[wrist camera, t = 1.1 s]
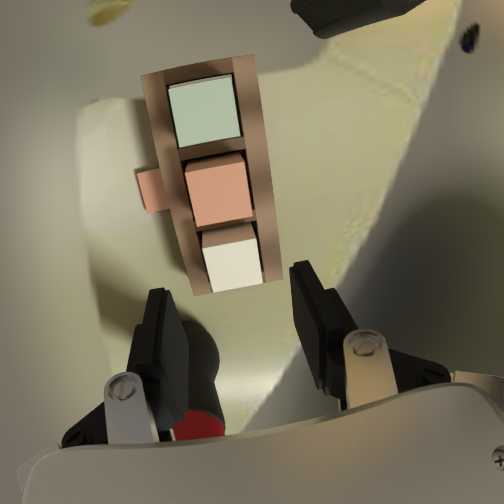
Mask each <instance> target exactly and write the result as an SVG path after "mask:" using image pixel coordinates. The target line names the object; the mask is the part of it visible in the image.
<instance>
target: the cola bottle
mask: <svg viewBox="0 0 504 504" xmlns="http://www.w3.org/2000/svg"><path fill="white" fill-rule="evenodd" d="M181 323H182V326H183V329H184V331H185V334H186V337H187V339H188V344H189V369H188V413H186V414H184V422H177V424H175V425H174V426H173V427H172V429H173V432H174V436H175V439H176V441H183V440H194V439H203V438H211V437H219V436H225V420H224V416H223V412H222V409H221V405H220V402H219V398H218V395H217V391H216V387H215V384H214V381H215V378H216V375H217V372H218V369H219V363H220V359H219V352H218V349H217V346H216V343H215V341H214V339H213V338H212V336H211V335H210V334H209V333H208V332H207V331H206V330H205V329H204V328H202V327H200V326H198V325H196V324H193V323H188V322H181Z"/></svg>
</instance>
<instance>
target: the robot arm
mask: <svg viewBox="0 0 504 504" xmlns="http://www.w3.org/2000/svg"><path fill="white" fill-rule="evenodd" d="M289 273H290V283H291V294H292V306H293V318H294V324H295V328H296V330H297V333H298V336H299V339H300V342H301V344H302V347H303V350H304V353H305V356H306V358H307V361H308V364H309V367H310V370H311V372H312V375H313V378H314V381H315V384H316V387H317V389H318V390H319V389H323V391H324V394H325V396H328V395H331V396H333V397H335V398H338V402H339V412H337V413H334V414H330V415H326V416H322V417H318V418H314V419H310V420H306V421H302V422H297V423H293V424H288V425H283V426H279V427H274V428H268V429H263V430H258V431H252V432H246V433H240V434H233V435H226V436H219V437H211V438H203V439H194V440H183V441H176V439H175V436H174V432H173V429H172V427H173V426H174V425H175V424H177V422H184V414H186V413H188V369H189V344H188V339H187V337H186V334H185V331H184V329H183V326H182V323H181V320H180V318H179V315H178V312H177V309H176V306H175V303H174V301H173V298H172V295H171V292H170V290H165V288H164V287H162V288H157V289H151V290H150V291H149V295H148V299H147V304H146V309H145V313H144V318H143V323H142V324H137V325H136V327H135V330H134V335H133V340H132V344H131V349H130V354H129V359H128V364H127V369H126V372H122V373H119V374H117V375H115V376H113V377H112V378H111V379H110V380H109V381H108V382H107V383H106V385H105V387H104V402H103V403H101V404H100V405H99V406H98V407H96V408H95V409H94V410H93V411H91V412H90V413H89V414H88V415H87V416H85V417H84V418H83V419H81V420H80V421H79V422H78V423H76V424H75V425H74V426H73V427H71V428H70V429H69V430H68V431H67V432H66V433H65V435H64V436H63V438H62V443H61V444H60V445H58V443H55V444H53V445H52V446H50V447H48V448H47V449H45V450H43V451H42V452H40V453H38V454H36V455H35V456H33V457H31V458H29V459H28V460H26V461H24V462H23V463H22V464H20V466H19V467H18V469H17V473H16V477H17V481H18V484H19V487H20V490H21V493H22V495H23V499H22V504H504V378H502V377H498V376H491V375H483V374H476V373H468V372H461V371H455V373H454V374H452V373H449V372H448V370H447V369H446V368H445V367H444V366H442V365H440V364H438V363H435V362H432V361H428V360H425V359H422V358H418V357H415V356H411V355H408V354H405V353H401V352H398V351H395V350H392V349H388V347H387V344H386V341H385V339H384V337H383V336H382V335H381V334H380V333H379V332H377V331H375V330H371V329H358V327H357V325H356V324H355V322H354V320H353V318H352V317H351V315H350V313H349V312H348V310H347V308H346V306H345V305H344V303H343V301H342V299H341V298H340V296H339V294H338V293H337V291H336V290H335V288H330V289H326V290H324V288H323V286H322V284H321V282H320V281H319V279H318V277H317V275H316V273H315V271H314V270H313V268H312V266H311V264H310V262H309V261H308V260H305V261H300V262H295V263H294V266H293V267H289Z"/></svg>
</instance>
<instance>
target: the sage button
mask: <svg viewBox="0 0 504 504" xmlns="http://www.w3.org/2000/svg"><path fill="white" fill-rule="evenodd" d="M168 90H169V96H170V101H171V106H172V112H173V117H174V122H175V127H176V132H177V137H178V142H179V147H185V146H189V145H194V144H199V143H204V142H209V141H215V140H220V139H226V138H231V137H237V136H240V131H239V125H238V118H237V112H236V106H235V99H234V93H233V87H232V81H231V77H229V78H222V79H217V80H211V81H205V82H200V83H195V84H190V85H185V86H180V87H176V88H171V89H168Z"/></svg>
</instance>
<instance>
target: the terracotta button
mask: <svg viewBox="0 0 504 504" xmlns="http://www.w3.org/2000/svg"><path fill="white" fill-rule="evenodd" d="M185 176H186V180H187V185H188V189H189V194H190V198H191V203H192V207H193V211H194V216H195V220H196V224H197V227H199V226H204V225H209V224H214V223H219V222H225V221H230V220H235V219H240V218H246V217H251V216H253V215H252V208H251V202H250V195H249V189H248V182H247V176H246V169H245V163H244V160H243V158H242V156H241V154H240V153H239V152H237V153H231V154H225V155H220V156H215V157H209V158H204V159H199V160H194V161H189V162H188V163H187V167H186V171H185Z"/></svg>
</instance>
